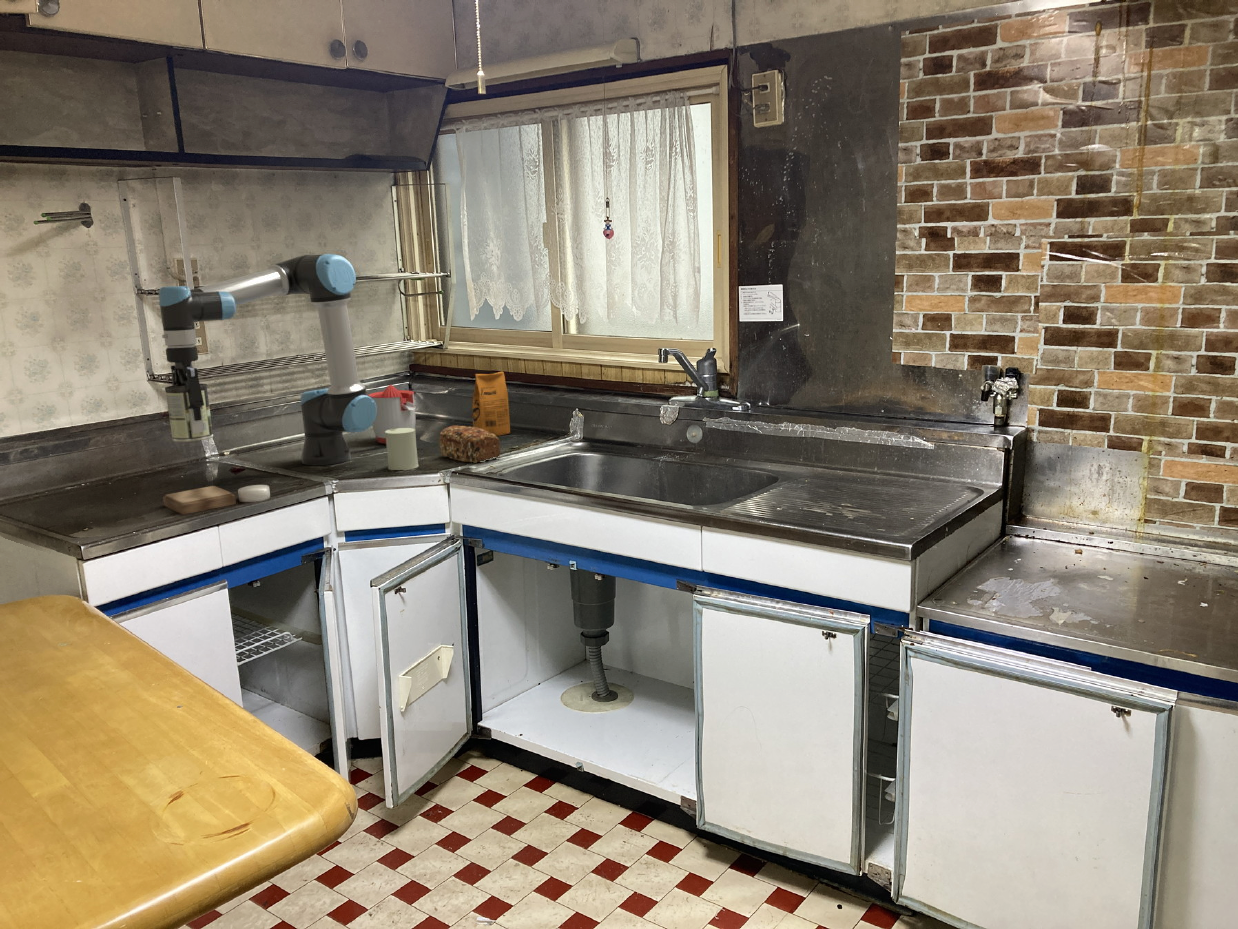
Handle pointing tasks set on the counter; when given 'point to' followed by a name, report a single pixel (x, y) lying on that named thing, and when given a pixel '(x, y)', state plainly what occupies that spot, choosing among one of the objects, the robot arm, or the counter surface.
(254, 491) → the white rounded flat block
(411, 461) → the pale green cylinder
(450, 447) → the bread
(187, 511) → the plinth
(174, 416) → the coffee can
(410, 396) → the citrus juicer
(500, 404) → the coffee package
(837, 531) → the counter surface
